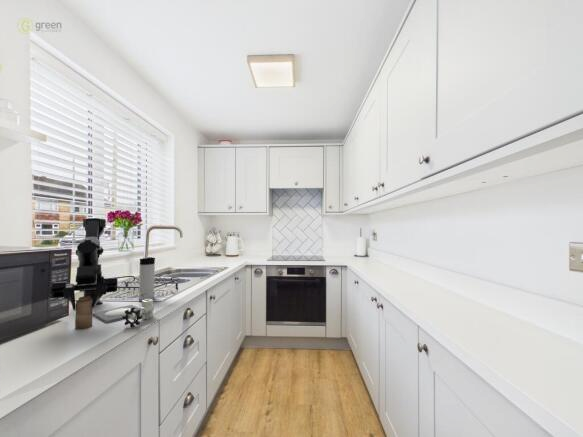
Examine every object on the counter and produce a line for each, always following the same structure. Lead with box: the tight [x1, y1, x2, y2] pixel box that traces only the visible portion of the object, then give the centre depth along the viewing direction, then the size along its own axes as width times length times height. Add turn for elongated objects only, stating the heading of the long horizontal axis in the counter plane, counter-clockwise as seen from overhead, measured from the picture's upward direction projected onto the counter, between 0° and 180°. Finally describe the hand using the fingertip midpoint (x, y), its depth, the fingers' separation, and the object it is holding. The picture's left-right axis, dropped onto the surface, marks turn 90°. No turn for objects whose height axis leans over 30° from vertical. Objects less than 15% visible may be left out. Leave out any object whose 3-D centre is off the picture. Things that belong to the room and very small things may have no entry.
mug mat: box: [92, 304, 141, 324], centre depth 105 cm, size 14×14×1 cm
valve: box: [122, 299, 155, 328], centre depth 97 cm, size 7×7×12 cm
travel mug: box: [138, 256, 156, 302], centre depth 126 cm, size 6×7×20 cm
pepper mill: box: [74, 295, 94, 331], centre depth 92 cm, size 5×5×10 cm
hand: (83, 308), depth 91 cm, fingers open, 5 cm apart
